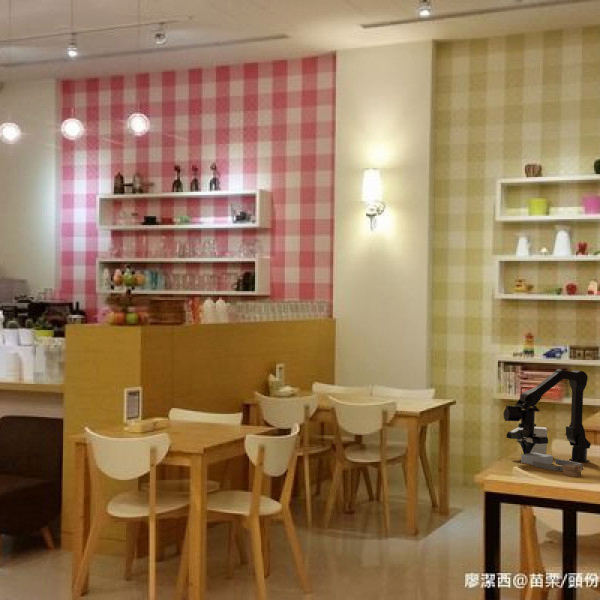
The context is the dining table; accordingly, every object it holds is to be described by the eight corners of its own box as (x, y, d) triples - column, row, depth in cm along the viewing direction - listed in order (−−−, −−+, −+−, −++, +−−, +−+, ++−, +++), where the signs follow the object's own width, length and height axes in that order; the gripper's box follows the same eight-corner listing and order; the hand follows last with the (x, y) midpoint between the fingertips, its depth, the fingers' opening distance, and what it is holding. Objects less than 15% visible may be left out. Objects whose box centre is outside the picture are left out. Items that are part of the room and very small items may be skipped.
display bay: (557, 463, 391) (557, 458, 391) (582, 468, 380) (583, 463, 380) (532, 466, 381) (532, 461, 381) (558, 471, 370) (558, 466, 370)
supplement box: (546, 457, 406) (547, 429, 406) (529, 456, 407) (530, 428, 407) (545, 454, 413) (546, 427, 413) (528, 453, 415) (529, 425, 415)
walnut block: (570, 473, 368) (570, 463, 368) (581, 475, 364) (581, 465, 364) (562, 474, 365) (563, 464, 365) (573, 476, 361) (573, 466, 361)
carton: (534, 461, 396) (535, 452, 396) (552, 465, 389) (552, 455, 389) (520, 463, 389) (521, 454, 389) (538, 467, 382) (539, 457, 382)
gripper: (498, 419, 397) (497, 455, 397) (532, 425, 382) (531, 462, 382) (515, 418, 403) (514, 453, 403) (549, 424, 388) (548, 460, 388)
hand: (526, 457), depth 394 cm, fingers closed
